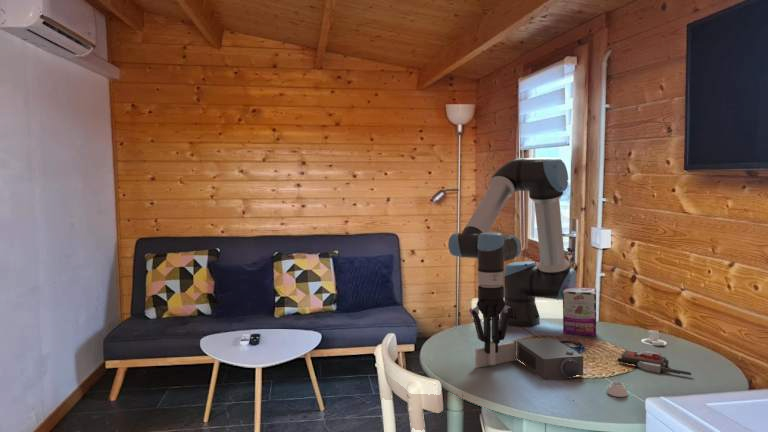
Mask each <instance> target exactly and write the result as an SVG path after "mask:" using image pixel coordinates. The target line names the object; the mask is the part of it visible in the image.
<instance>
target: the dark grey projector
mask: <svg viewBox="0 0 768 432" xmlns="http://www.w3.org/2000/svg"><path fill="white" fill-rule="evenodd" d="M517 359H518V360H520V361H521V362H523V363H524V364H525V365H526V366H525V368H527V369H528V370H529V371H531V372H533V374H535V375H536V376H537V377H538V378H540V379H542V380H543V381H549V380H550V381H551V380H562V379H563V380H564V379H570V378H569V377H573V376H576V375H583V376H584V355H583V354H581V353H579V352H577V351H576V350H573V349H572V348H571V347H569V346H567V345H565V344H563V342H560V341H558V340H557V339H555V338H554V337H550V338H549V337H548V338H547V337H546V338H536V339H535V338H534V339H533V338H532V339H521V340H520V339H519V340H516V360H517ZM518 360H517V361H518Z"/></svg>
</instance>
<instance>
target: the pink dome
mask: <svg viewBox="0 0 768 432" xmlns="http://www.w3.org/2000/svg"><path fill="white" fill-rule="evenodd" d="M606 393H607V395H609V396H612V397H616V398H623V397H627V396H628V394H629V392H628V390H627V389H626V387H625V384H624V382H621V381H611V382H610V384H609V386H608V387H607V389H606Z"/></svg>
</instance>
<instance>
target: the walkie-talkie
mask: <svg viewBox="0 0 768 432" xmlns="http://www.w3.org/2000/svg"><path fill="white" fill-rule="evenodd" d="M617 362H619V363H622V362H623V363H628V364H634V365H636V366H637V367H636V368H638V369H640V370H643V371H647V372H651V373H658V374H660V373H661V372H663V373H666V372H667V373H672V374H678V375H680V374H681V375H687V376H691V375H692V372H691V371H684V370H679V369H674V368H668V367H669V359H667V357H665V356H662V354H661V353H659V352H656V351H650V350H644V351H641V352H638V350H637V349H635V350H633V351H630V350H624V351H623V352H622V354H621V358H620V357H619V358H617Z"/></svg>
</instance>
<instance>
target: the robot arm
mask: <svg viewBox="0 0 768 432" xmlns="http://www.w3.org/2000/svg"><path fill="white" fill-rule="evenodd" d="M568 181H569V173H568V170H567V166H566V164H565V162H564V161H563V160H562V159H561V158H560V157H548V156H545V157H527V158H525V157H520V158H519V157H518V158H515V159H512V160H510V161H508V162H506V163H505V164H503V165H502V166H500V167H499V168H498V169H497V170H496V171H495V173H493V175H492V176H491V177H490V179H489V181H488V189H487V190H486V191H485V193H484V195H483V197H482V199H481V200H480V202H479V203H478V205H477V207H476V209H475V210H474V211H473V214H472V215H471V216H470V218H469V220H468V222H467V224H466V225H465V226H464V228H463V229H462V231H461V233H460V232H455V233H452V234H451V235H450V236H449V239H448V243H447V245H448V250H449V253H450V255H452V256H454V257H459V258H469V259H470V258H471V259H477V284H478V287H477V303H476V306H475V307H474V308H470V309H469V311H468V312H469V314H470V315H471V316H472V318H473V322H474V327H475V331H476V336H477V339H478V340H480V341H481V342H482V343H484V344H483V345H484V346H483V347H485V348H484V351H485V353H487V362H488V363H489V364H490V365H489V366H495V365H496V364H495V353H498V344H500V341H504V340H505V337H506V334H507V333H506V332H507V328H508V325H509V326H514V327H515V326H517V327H530V326H531V327H532V326H536V325H539V324H540V322H541V321H540V319H541V317H540V314H539V310H538V307H537V304H536V298H544V299H551V300H557V301H561V300H562V301H563V289H564V287H576V284H577V271H576V270H575V269H574V268H571V265H570V261H568V260H567V259H566V257H565V248H564V247H565V246H564V236H563V225H562V224H563V223H562V215H561V214H562V213H561V205H560V199H561V197H563V195H564V192H565V191H566V190H567V188H568V185H569V182H568ZM521 191H522V192H528V195H529V196H528V197H529V199H530V200H532V201H533V203H534V210H535V211H534V212H535V221H536V228H537V229H536V230H537V239H538V247H539V248H538V249H539V257H540V259H539V260H540V261H539V262H538V263H537V264H536V262H535V261H531V260H527V261H526V260H525V261H517V262H516V261H515V262H510V263H507V264H506V265H505V263H504V262H506V261H511V260H514V259H515V258H517V257H518V256H520V253H521V251H522V243H521V241H520V239H519V238H518V237H516V236H515V235H512V234H508V235H507V234H504V235H503V233H501V232H499V231H497V232H496V231H491V229H492V227H493V225H494V224H495V221H496V220H497V218H498V217H499V215H500V213H501V211H502V210H503V208H504V206H505V204H506V202H507V201H508V199H509V198H511V197H512V196H514V194H515V192H521ZM480 312H481V314H482V319H483V326H482V321H481V319H480V316H479V315H480ZM499 321H500V323H499Z"/></svg>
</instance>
